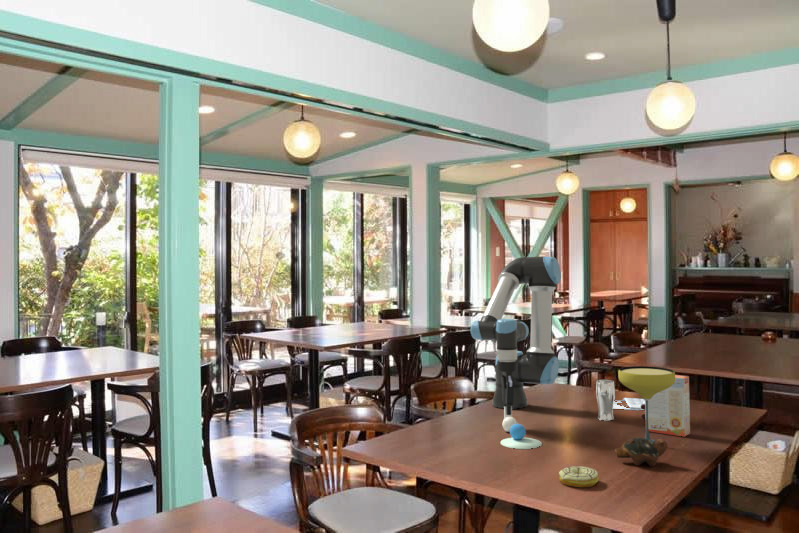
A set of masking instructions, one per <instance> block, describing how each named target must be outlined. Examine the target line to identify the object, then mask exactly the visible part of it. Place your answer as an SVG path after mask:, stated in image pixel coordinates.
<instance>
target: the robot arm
mask: <svg viewBox="0 0 799 533" xmlns="http://www.w3.org/2000/svg"><path fill="white" fill-rule="evenodd" d="M561 280H562V272H561V266H560V263H559V261H558V259H556V257H554V256H546V255H545V256H520V257H517V258H515V259H513V260H511V261H510V262H509V263H508V264H506V265H505V266H504V267H503V268H502V270H501V271H500V272H499V275H498V277H497V285H496V287H495V289H494V290H493V293H492V295H491V297H490V300H489V302H488V303H487V306H486V308H485V310H484V311H483V314H482V317H481V318H480V320H474V321H473V322H471V325H470V335H471V337H472V338H473V339H474V340H479V341H496V351H495V355H496V356H495V364H494V366H495V390H494V395H493V398H492V400H491V403H492V406H493V407H494V408H497V407H498V408H497V409H503V408H504V409H503V416H504V417H503V420H504V419H505V418H506V417H513V410H518V409H517V408H520V409H524V408H523V407H525V408H527V407H528V406H529V405H528V403H529V402H528V399H527V396H526V391H525V389H524V383H526V384H537V385H552V384H554V382H555V381H556V380H557V378H558V374H559V369H560V362H559V358H558V357H556V356H555V351H554V350H553V349H552V321H553V320H552V312H553V292H554V291H555V290H556V288H557V285H558V284H560V283H561ZM522 284H523V285H524V284H525V285H527V284H528V289H529V290H530V291H531V305H530V306H531V309H530V310H531V311H530V328H529V326H528V325H527V324H526V323H525V322H523V321H520V320H518V321H517V320H516V319H514V318H503V316H504V315H505V312H506V310H507V307H508V306H509V303H510V301H511V299H512V296H513V295H514V292H515V291H516V290H517V289H518V288H519V286H520V285H522ZM529 329H530V330H529ZM529 331H530V332H529ZM529 333H530V341H529V344H530V346H529V348H528V349H527V350H526V354H525V355H524V353H523V351H522V350H521V351H520V350H518V348H517V347H518V345H517V344H518V342H521V341H523V340H525V339H527V338H528V336H529ZM526 406H527V407H526Z"/></svg>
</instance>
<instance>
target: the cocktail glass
mask: <svg viewBox="0 0 799 533" xmlns="http://www.w3.org/2000/svg"><path fill="white" fill-rule="evenodd" d="M617 374H618V381H619V382H620V383H621V384H622V385H623V386H625V387H626V388H628V389H629V390H632V391H633V392H635V393H637V394H638V395H640V396H641V399H644V400H646V421H645V436H644V438H645V439H648V440H649V441H651V442H652V443H653V442H654V440H655V439H652V438H650V433H649V429H648V400H650V399H651V398H652V396H653V395H655V394H656V393H658V392H661V391H663V390H665V389H667V388H669V387H671V386H672V385H673V384H674V383H675V375H676V372H675V370H673V369H671V368H666V367H661V366H660V367H658V366H648V365H647V366H646V365H645V366H643V365H640V366H639V365H637V366H633V365H632V366H624V367H621V368H618V373H617Z"/></svg>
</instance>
